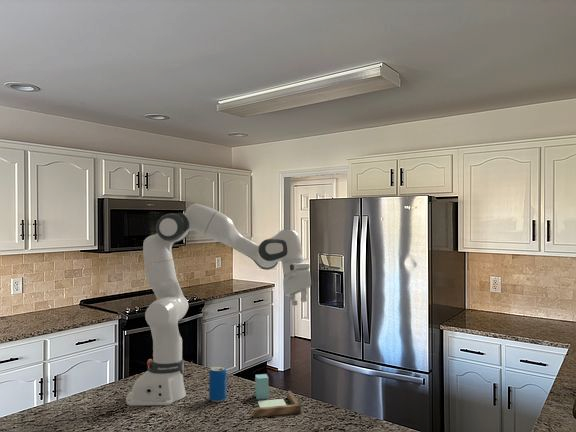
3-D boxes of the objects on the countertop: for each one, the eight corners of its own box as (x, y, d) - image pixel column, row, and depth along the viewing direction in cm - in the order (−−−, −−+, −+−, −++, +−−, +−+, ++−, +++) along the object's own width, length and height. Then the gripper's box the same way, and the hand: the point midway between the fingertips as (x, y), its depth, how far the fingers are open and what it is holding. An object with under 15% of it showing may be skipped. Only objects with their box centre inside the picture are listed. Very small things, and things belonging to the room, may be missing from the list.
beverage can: (222, 403, 169) (223, 371, 169) (206, 402, 170) (206, 370, 171) (228, 397, 175) (228, 366, 176) (212, 395, 177) (213, 365, 177)
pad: (261, 412, 161) (261, 411, 161) (257, 401, 171) (257, 401, 171) (289, 409, 163) (289, 409, 163) (283, 399, 173) (283, 398, 173)
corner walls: (253, 417, 157) (253, 410, 157) (247, 400, 172) (247, 394, 172) (300, 412, 161) (300, 405, 161) (290, 397, 175) (290, 390, 176)
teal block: (257, 399, 173) (257, 378, 173) (255, 395, 178) (255, 374, 178) (268, 398, 174) (268, 377, 174) (266, 394, 179) (266, 374, 179)
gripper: (277, 275, 187) (282, 308, 183) (296, 263, 169) (302, 300, 165) (291, 274, 190) (296, 306, 186) (311, 262, 172) (317, 298, 168)
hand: (299, 303), depth 175 cm, fingers open, 8 cm apart
